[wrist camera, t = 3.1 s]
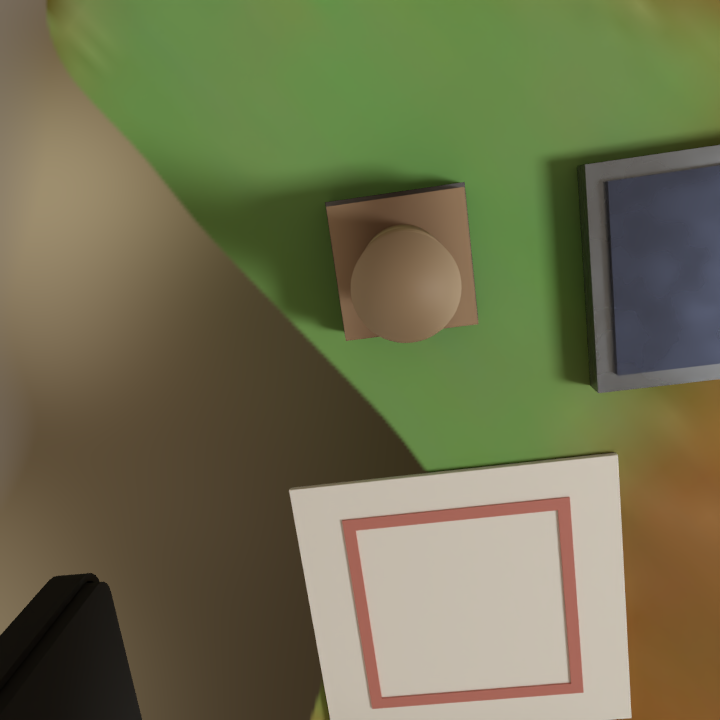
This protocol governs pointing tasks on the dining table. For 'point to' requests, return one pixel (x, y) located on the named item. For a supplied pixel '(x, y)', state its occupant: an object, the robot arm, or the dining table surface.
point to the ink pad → (652, 268)
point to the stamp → (403, 263)
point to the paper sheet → (470, 592)
